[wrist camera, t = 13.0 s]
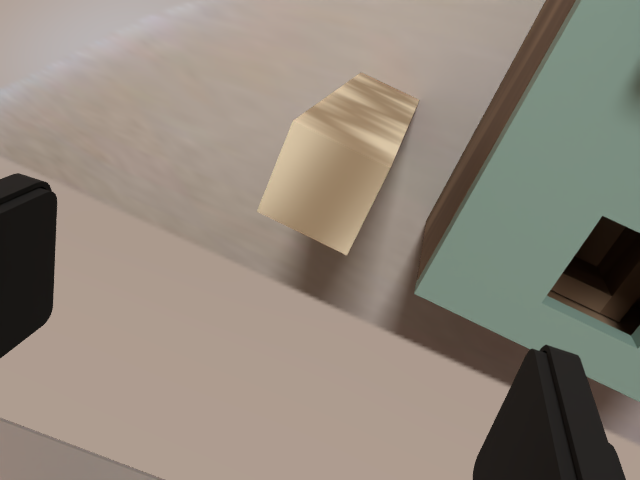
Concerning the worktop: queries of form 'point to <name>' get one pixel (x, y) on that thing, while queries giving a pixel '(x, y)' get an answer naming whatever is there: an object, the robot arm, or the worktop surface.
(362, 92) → the block
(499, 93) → the open wooden box
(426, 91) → the worktop surface
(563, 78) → the lid
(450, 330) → the worktop surface
